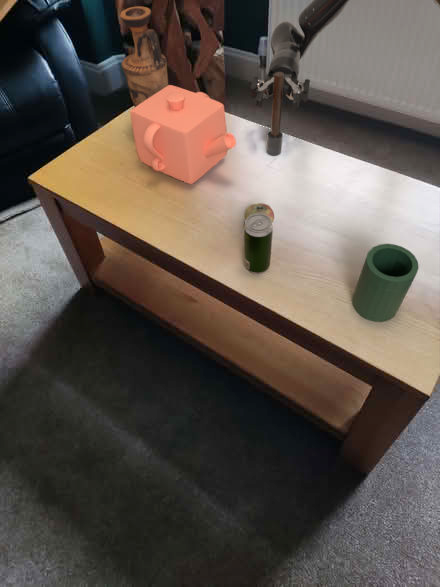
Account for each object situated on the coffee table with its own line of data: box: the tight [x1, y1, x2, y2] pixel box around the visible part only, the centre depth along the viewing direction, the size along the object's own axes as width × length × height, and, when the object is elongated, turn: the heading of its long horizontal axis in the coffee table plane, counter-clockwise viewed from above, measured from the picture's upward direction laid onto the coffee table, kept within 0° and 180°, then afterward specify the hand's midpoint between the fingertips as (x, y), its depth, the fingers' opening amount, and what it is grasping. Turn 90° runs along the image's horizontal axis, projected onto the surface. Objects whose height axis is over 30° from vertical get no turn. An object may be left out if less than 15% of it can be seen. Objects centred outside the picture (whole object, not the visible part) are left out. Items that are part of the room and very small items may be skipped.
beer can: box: [243, 213, 274, 275], centre depth 84 cm, size 5×5×12 cm
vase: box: [119, 5, 169, 108], centre depth 107 cm, size 11×11×30 cm
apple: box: [243, 202, 275, 224], centre depth 93 cm, size 6×8×6 cm
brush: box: [266, 72, 284, 157], centre depth 104 cm, size 4×4×20 cm
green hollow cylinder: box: [351, 243, 419, 323], centre depth 77 cm, size 8×8×12 cm
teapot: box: [129, 84, 237, 185], centre depth 102 cm, size 25×23×18 cm
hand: (276, 105), depth 100 cm, fingers open, 7 cm apart
